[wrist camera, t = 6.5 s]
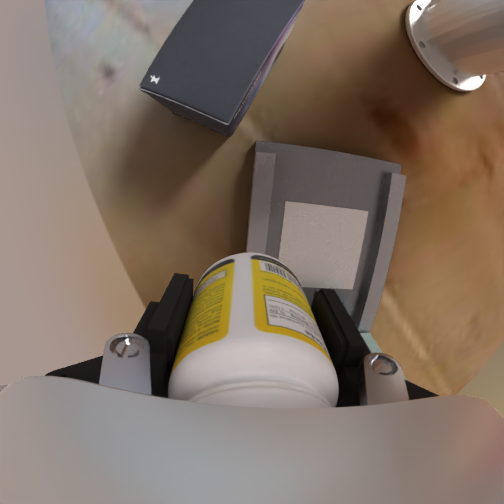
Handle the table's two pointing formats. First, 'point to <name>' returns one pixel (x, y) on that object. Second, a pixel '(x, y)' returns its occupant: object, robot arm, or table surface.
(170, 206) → the table surface
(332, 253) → the base
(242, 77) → the small box
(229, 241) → the table surface
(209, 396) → the supplement bottle
